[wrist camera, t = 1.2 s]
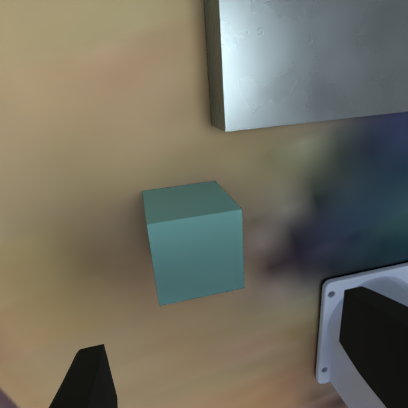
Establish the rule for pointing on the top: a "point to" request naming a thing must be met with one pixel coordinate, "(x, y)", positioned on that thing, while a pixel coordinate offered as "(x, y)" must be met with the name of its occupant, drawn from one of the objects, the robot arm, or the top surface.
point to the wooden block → (194, 241)
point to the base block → (305, 60)
